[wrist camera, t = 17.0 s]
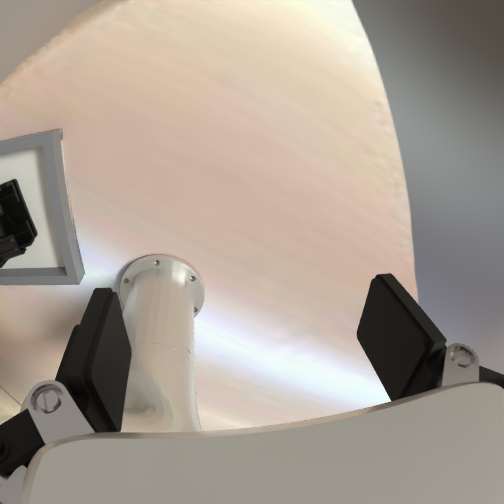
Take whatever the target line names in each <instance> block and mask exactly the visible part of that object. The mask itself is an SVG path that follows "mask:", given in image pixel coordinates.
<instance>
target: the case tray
mask: <svg viewBox="0 0 504 504" xmlns="http://www.w3.org/2000/svg"><path fill="white" fill-rule="evenodd" d="M12 179H16V180H17V181H18V184H19V187H20V189H21V192H22V195H23V198H24V200H25V203H26V205H27V208H28V210H29V213H30V215H31V218H32V220H33V223H34V225H35V227H36V230H37V232H38V235H37V237H36V238H35V240H34V242H33V243H32V245H31V246H29V247H26V249H27V250H26V251H25V254H22V255H20V256H17V257H14V258H11V259H9V260H8V261H7V262H6V263H5V265H4V266H3V267H2V268H0V285H79V284H80V282H81V280H82V278H83V276H84V274H85V271H84V267H83V263H82V259H81V254H80V250H79V245H78V241H77V236H76V231H75V226H74V220H73V215H72V209H71V203H70V197H69V190H68V183H67V176H66V168H65V159H64V149H63V138H62V128H61V129H56V130H50V131H45V132H40V133H34V134H30V135H25V136H20V137H16V138H11V139H7V140H3V141H0V185H1V184H3V183H5V182H8V181H10V180H12Z"/></svg>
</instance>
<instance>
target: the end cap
mask: <svg viewBox="0 0 504 504" xmlns="http://www.w3.org/2000/svg"><path fill="white" fill-rule="evenodd" d="M37 235H38V232H37V230H36V227H35V225H34V223H33V220H32V218H31V215H30V213H29V210H28V208H27V205H26V203H25V200H24V198H23V195H22V192H21V189H20V187H19V184H18V181H17V180H16V179H12V180H10V181H8V182H5V183H3V184H1V185H0V268H2V267H3V266H4V265H5V263H6V262H7V261H8V260H9V259H11V258H14V257H17V256H20V255H22V254H25V251H26V250H27V249H26V247H29V246H31V245H32V243H33V242H34V240H35V238H36V237H37Z"/></svg>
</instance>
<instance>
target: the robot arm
mask: <svg viewBox="0 0 504 504" xmlns="http://www.w3.org/2000/svg"><path fill="white" fill-rule="evenodd" d="M156 260H158V261H156ZM192 276H193V277H192ZM119 293H120V298H121V301H122V303H123V305H124V310H123V314H122V311H121V307H120V303H119V299H118V295H117V292H112V289H111V288H95V289H94V291H93V294H92V296H91V299H90V301H89V303H88V306H87V308H86V311H85V313H84V316H83V318H82V321H81V324H80V325H76V326H75V327H74V329H73V331H72V334H71V336H70V339H69V342H68V344H67V347H66V350H65V352H64V355H63V358H62V361H61V364H60V366H59V369H58V372H57V375H56V378H55V381H53V380H47V381H43V382H40V383H38V384H37V385H35V386H34V387H33V388H32V389H31V390H30V392H29V394H28V395H27V397H26V398H25V400H24V402H23V404H22V407H21V410H20V413H19V414H17V415H16V416H14V417H12V418H11V419H9V420H8V421H6V422H4V423H3V424H1V425H0V504H504V375H503V374H500V373H497V372H495V371H492V370H490V369H487V368H484V367H482V366H479V359H478V356H477V354H476V353H475V352H474V351H473V349H471V348H470V347H468V346H466V345H464V344H459V343H454V344H451V345H449V346H448V347H446V345H445V343H446V341H447V340H446V338H445V337H444V336H443V335H442V333H441V332H440V331H439V329H438V328H437V327H436V326H435V324H434V323H433V322H432V321H431V319H430V318H429V317H428V316H427V315H426V313H425V312H424V311H423V310H422V309H421V307H420V306H419V305H418V304H417V303H416V301H415V300H414V299H413V298H412V297H411V295H410V294H409V293H408V292H407V291H406V290H405V288H404V287H403V286H402V285H401V284H400V283H399V282H398V280H397V279H396V278H395V277H394V276H393V275H392V274H390V273H389V274H378V275H376V277H375V278H374V279H372V281H371V284H370V288H369V292H368V295H367V299H366V302H365V306H364V309H363V313H362V316H361V319H360V323H359V326H358V329H357V338H358V341H359V342H360V344H361V346H362V348H363V350H364V351H365V353H366V355H367V357H368V359H369V360H370V362H371V364H372V366H373V368H374V370H375V371H376V373H377V375H378V377H379V379H380V381H381V383H382V384H383V386H384V388H385V390H386V392H387V394H388V396H389V398H390V399H391V402H388V403H384V404H380V405H376V406H372V407H368V408H364V409H359V410H355V411H351V412H346V413H341V414H336V415H332V416H326V417H321V418H316V419H310V420H304V421H298V422H291V423H285V424H277V425H270V426H261V427H252V428H242V429H231V430H217V431H202V428H201V424H200V420H199V414H198V408H197V400H196V386H195V354H194V318H195V317H196V315H197V314H198V313H199V312H200V310H201V308H202V306H203V303H204V295H205V293H204V286H203V282H202V280H201V278H200V276H199V274H198V273H197V272H196V271H195V269H194V268H193V267H191V266H190V265H189V264H188V263H186V262H184V261H183V260H181V259H178V258H176V257H173V256H168V255H150V256H145V257H143V258H140V259H138V260H136V261H135V262H133V263H132V264H131V265H130V266H129V267H128V268H127V269H126V271H125V272H124V274H123V276H122V279H121V282H120V286H119Z"/></svg>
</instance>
